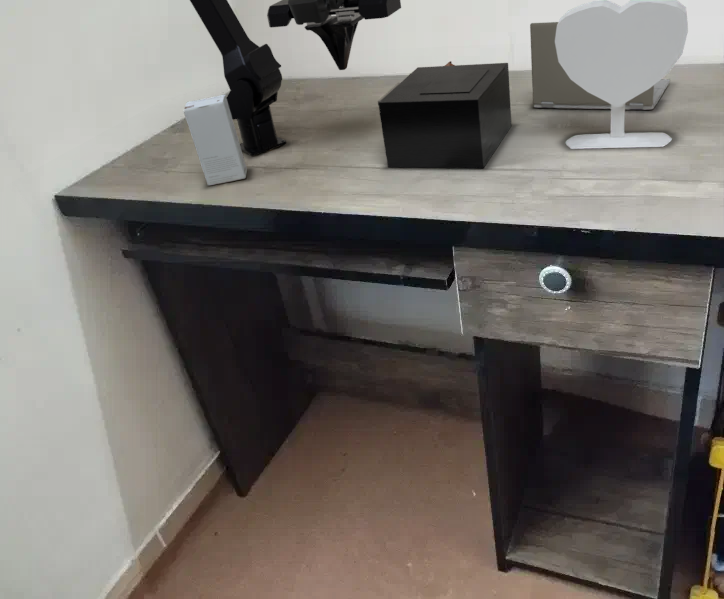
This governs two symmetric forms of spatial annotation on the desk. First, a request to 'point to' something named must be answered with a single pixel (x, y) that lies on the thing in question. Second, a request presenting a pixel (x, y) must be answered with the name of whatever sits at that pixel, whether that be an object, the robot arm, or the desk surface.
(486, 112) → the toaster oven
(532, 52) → the laptop
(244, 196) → the desk surface
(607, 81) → the heart sculpture
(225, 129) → the cosmetic box
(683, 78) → the desk surface
